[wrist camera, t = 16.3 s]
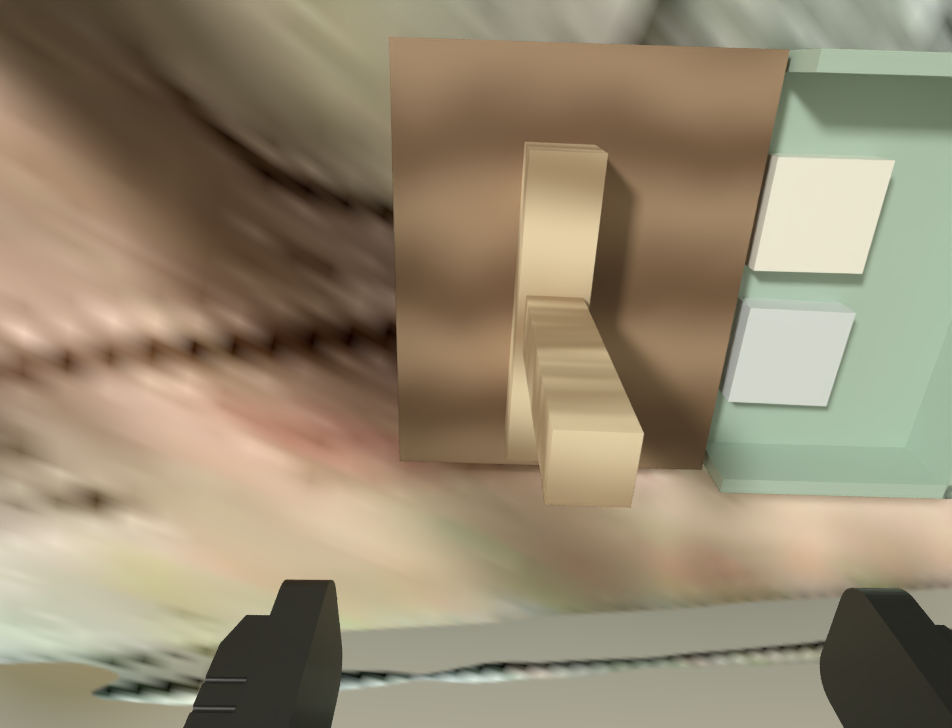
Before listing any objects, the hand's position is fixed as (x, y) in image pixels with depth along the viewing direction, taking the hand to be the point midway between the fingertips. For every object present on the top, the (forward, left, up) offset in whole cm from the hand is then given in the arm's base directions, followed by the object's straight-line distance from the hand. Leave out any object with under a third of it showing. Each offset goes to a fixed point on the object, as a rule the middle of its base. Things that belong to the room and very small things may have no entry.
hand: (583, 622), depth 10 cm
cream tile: (-2, +13, -23) cm, 26 cm away
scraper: (+2, +1, -21) cm, 21 cm away
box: (+1, +17, -25) cm, 30 cm away
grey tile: (+4, +14, -23) cm, 27 cm away
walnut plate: (+1, +2, -25) cm, 25 cm away
